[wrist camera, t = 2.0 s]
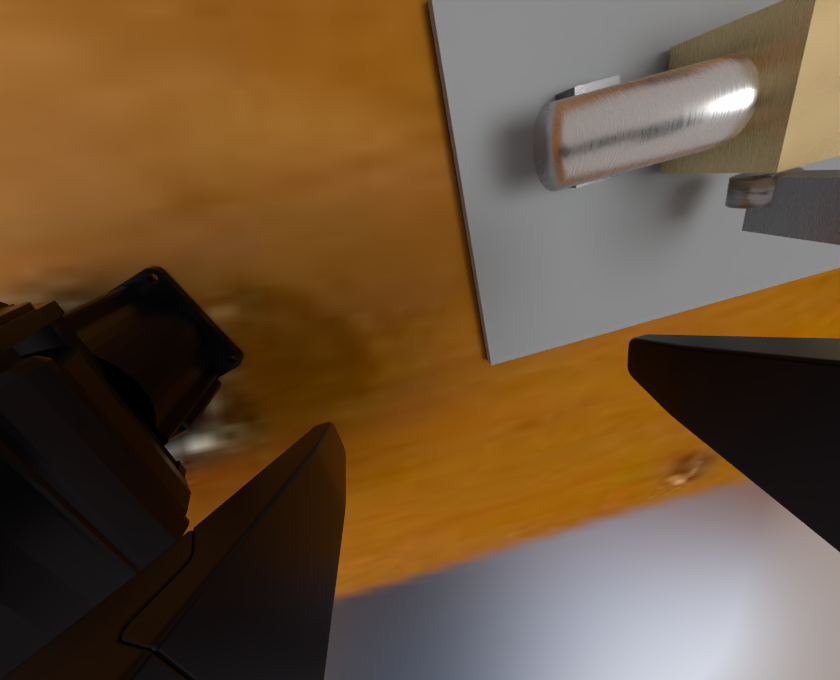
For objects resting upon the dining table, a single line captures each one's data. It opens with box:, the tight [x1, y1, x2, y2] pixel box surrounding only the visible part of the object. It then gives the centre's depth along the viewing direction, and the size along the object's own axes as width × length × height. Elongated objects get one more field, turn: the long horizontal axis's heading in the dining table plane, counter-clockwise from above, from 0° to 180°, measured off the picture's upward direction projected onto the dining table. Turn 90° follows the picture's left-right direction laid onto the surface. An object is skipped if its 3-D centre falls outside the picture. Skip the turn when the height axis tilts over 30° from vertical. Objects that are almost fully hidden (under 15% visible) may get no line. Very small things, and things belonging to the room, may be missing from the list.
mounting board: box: [427, 0, 840, 365], centre depth 18 cm, size 26×18×1 cm
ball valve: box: [533, 0, 840, 191], centre depth 14 cm, size 20×6×6 cm, turn 104°
